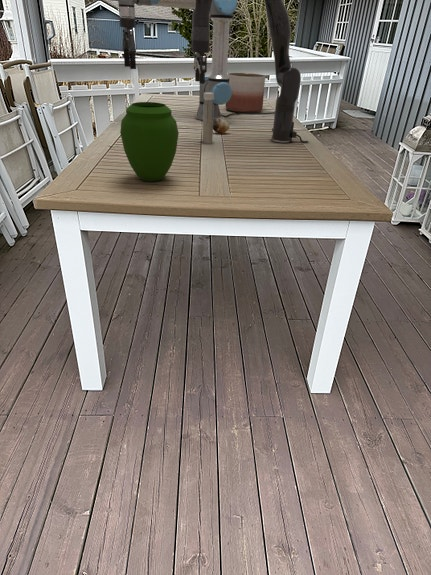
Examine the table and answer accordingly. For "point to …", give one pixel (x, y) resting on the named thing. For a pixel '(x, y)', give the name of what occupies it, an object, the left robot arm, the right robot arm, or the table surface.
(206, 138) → the bottle
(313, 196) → the table surface
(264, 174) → the table surface
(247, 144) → the table surface
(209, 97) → the cap
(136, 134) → the vase
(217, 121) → the seashell
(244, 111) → the planter
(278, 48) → the right robot arm
